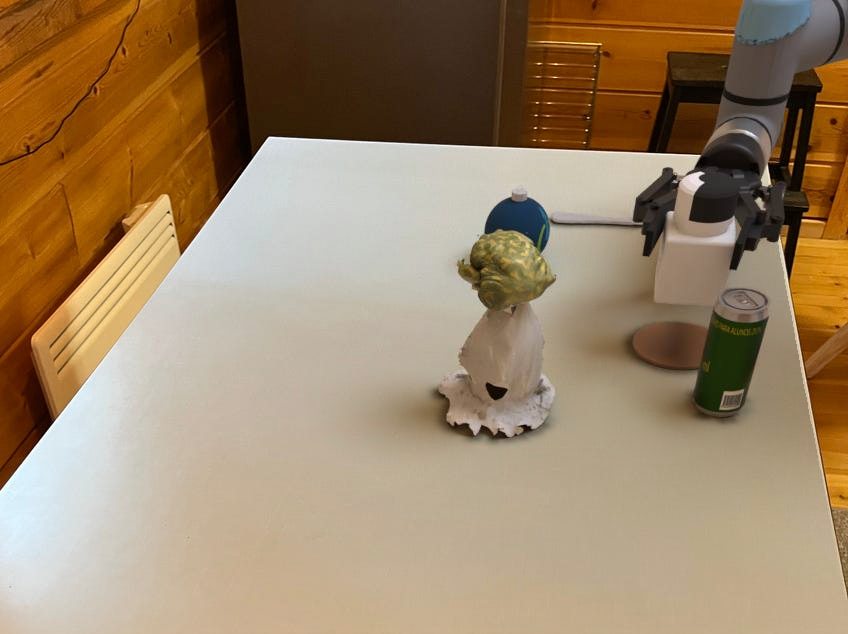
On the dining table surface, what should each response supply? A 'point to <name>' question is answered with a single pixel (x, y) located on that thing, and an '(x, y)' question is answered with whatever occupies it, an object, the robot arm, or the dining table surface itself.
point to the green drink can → (731, 351)
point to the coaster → (671, 345)
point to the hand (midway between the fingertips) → (691, 250)
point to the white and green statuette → (502, 338)
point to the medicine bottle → (698, 241)
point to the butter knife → (590, 219)
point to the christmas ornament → (520, 218)
